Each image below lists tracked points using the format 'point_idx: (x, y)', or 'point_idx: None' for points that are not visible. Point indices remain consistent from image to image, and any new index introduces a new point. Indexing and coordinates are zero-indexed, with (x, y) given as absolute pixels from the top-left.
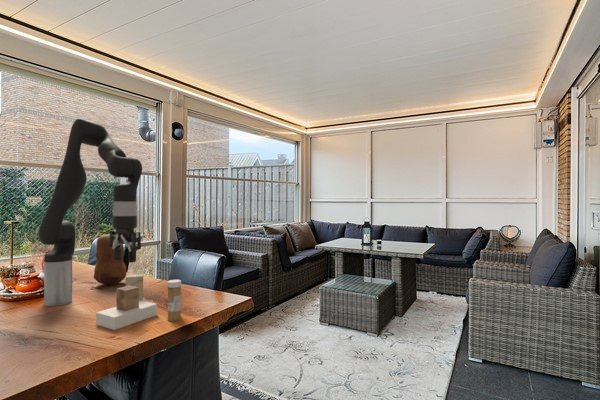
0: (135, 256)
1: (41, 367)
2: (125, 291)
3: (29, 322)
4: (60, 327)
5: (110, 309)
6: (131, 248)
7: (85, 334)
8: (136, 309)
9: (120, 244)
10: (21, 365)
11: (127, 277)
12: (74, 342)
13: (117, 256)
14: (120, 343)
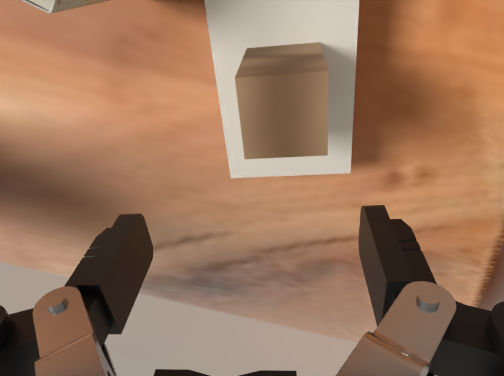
0: (418, 253)
1: None
2: (326, 152)
3: (59, 240)
4: (174, 217)
5: (239, 132)
6: (436, 370)
7: (297, 208)
8: (342, 70)
9: (105, 358)
10: (351, 325)
11: (54, 5)
12: (329, 243)
13: (137, 256)
14: (463, 192)
